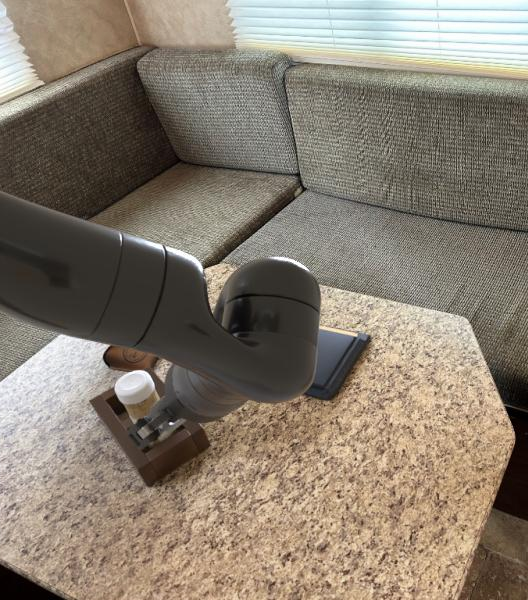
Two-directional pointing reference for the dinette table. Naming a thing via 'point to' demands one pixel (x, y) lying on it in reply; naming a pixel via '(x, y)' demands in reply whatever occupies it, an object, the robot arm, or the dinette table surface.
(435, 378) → the dinette table surface
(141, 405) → the sprinkles bottle
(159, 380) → the socket block
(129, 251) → the robot arm
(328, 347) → the wallet
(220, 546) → the dinette table surface
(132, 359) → the sunglasses case
